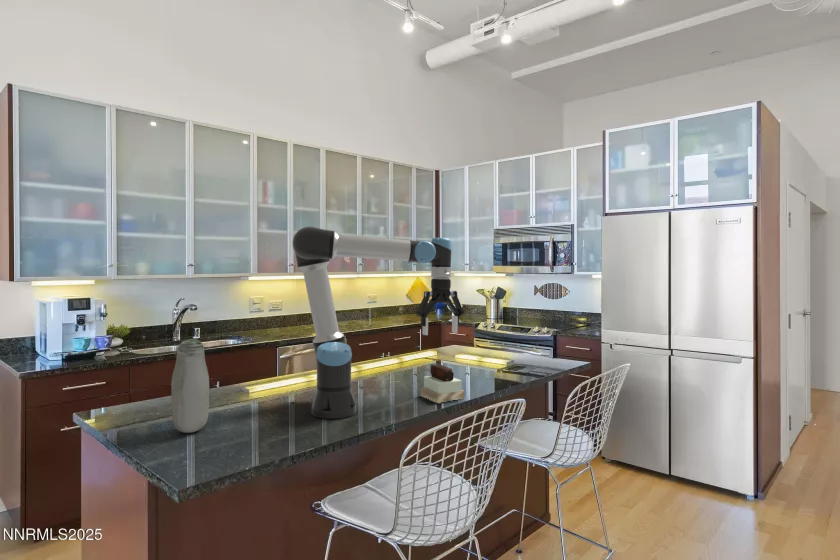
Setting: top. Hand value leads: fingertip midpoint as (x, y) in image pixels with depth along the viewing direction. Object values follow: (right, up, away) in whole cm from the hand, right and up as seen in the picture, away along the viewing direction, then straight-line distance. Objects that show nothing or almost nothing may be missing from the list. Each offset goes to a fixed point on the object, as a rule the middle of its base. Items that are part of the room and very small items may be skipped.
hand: (440, 333), depth 199 cm
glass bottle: (-77, -25, -42) cm, 91 cm away
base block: (+1, -25, +1) cm, 25 cm away
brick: (+1, -18, 0) cm, 18 cm away
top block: (+1, -21, +1) cm, 21 cm away
